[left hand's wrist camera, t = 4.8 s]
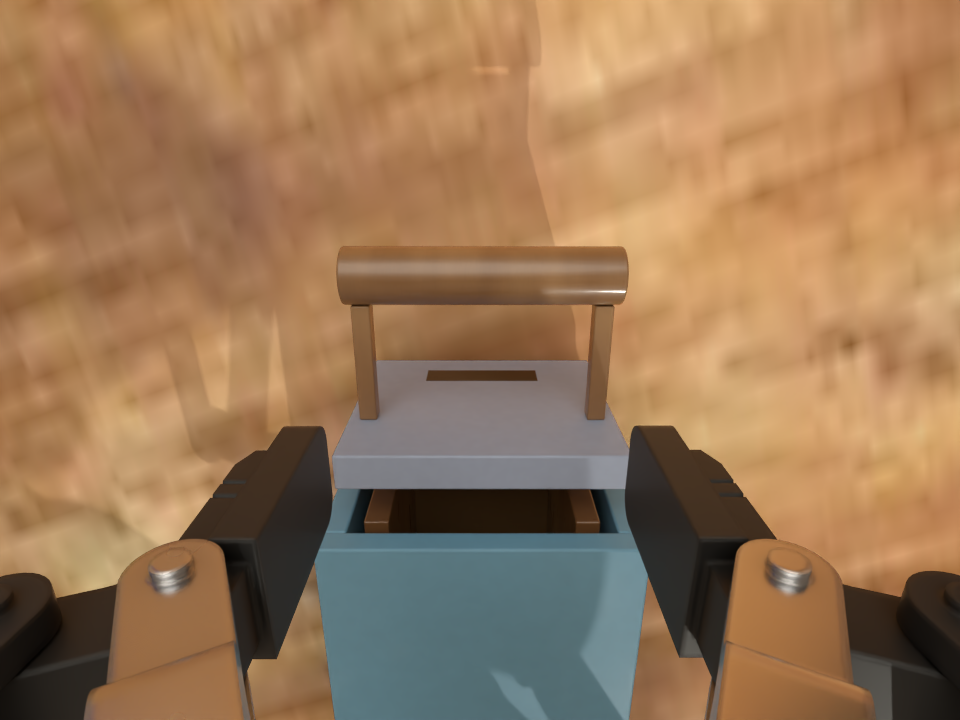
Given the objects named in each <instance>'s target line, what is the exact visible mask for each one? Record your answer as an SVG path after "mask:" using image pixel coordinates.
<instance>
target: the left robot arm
mask: <svg viewBox="0 0 960 720" xmlns="http://www.w3.org/2000/svg"><path fill="white" fill-rule="evenodd" d="M625 511H626V517H627V521H628V525H629V527H630V530H631V532H632V535H633V538H634V540H635V543H636V545H637V548H638V551H639V553H640V556H641V559H642V561H643V564H644V566H645V569H646V572H647V574H648V577H649V579H650V582H651V585H652V587H653V590H654V593H655V595H656V598H657V600H658V603H659V606H660V608H661V611H662V613H663V616H664V619H665V621H666V624H667V626H668V629H669V632H670V634H671V637H672V640H673V642H674V645H675V647H676V650H677V653H678V655H679V658H704V660H705V663H706V665H707V667H708V670H709V672H710V674H711V677H712V678H711V683H710V688H709V694H708V701H707V707H706V714H705V720H960V576H959V575H956V574H952V573H946V572H939V571H924V572H918V573H916V574H913V575H912V576H911V577H909V578H908V580H907V582H906V585H905V588H904V591H903V593H902V596H901V597H897V596H893V595H888V594H883V593H879V592H874V591H870V590H865V589H860V588H856V587H851V586H847V585H844V584H842V580H841V578H840V576H839V574H838V573H837V572H836V570H835V569H834V568H833V567H832V566H831V565H830V564H829V563H828V562H827V561H825V560H824V559H823V558H822V557H820V556H819V555H817V554H815V553H814V552H812V551H810V550H808V549H806V548H804V547H801V546H799V545H796V544H793V543H790V542H786V541H781V540H777V539H776V537H775V536H774V535H773V533H772V532H771V531H770V529H769V528H768V526H767V525H766V524H765V522H764V521H763V520H762V518H761V517H760V516H759V514H758V513H757V512H756V510H755V509H754V507H753V506H752V505H751V503H750V502H749V501H748V499H747V498H746V497H743V493H742V491H741V490H740V488H739V487H738V486H737V484H736V483H733V479H732V478H731V476H730V475H729V474H728V472H727V471H726V470H725V468H724V467H723V465H722V464H721V463H719V462H718V461H716V460H715V459H713V458H712V457H710V456H709V455H707V454H706V453H704V452H703V451H701V450H689V449H688V447H687V446H686V444H685V443H684V441H683V440H682V438H681V437H680V435H679V434H678V432H677V431H676V429H675V428H674V427H673V426H634V428H633V430H632V433H631V439H630V449H629V458H628V467H627V477H626V486H625ZM331 513H332V486H331V477H330V467H329V458H328V449H327V440H326V434H325V431H324V428H323V427H321V426H286V427H283V428H282V429H281V431H280V432H279V434H278V435H277V437H276V438H275V440H274V441H273V443H272V444H271V446H270V447H269V449H268V450H267V451H255V452H253V453H252V454H250V455H249V456H247V457H246V458H244V459H243V460H241V461H240V462H238V463H237V464H235V465H234V467H233V468H232V470H231V471H230V472H229V474H228V475H227V476H226V478H225V479H224V480H223V484H220V486H219V487H218V488H217V490H216V491H215V492H214V494H213V498H210V499H209V500H208V502H207V503H206V504H205V506H204V507H203V508H202V510H201V511H200V512H199V514H198V515H197V516H196V518H195V519H194V520H193V522H192V523H191V524H190V526H189V527H188V528H187V530H186V531H185V532H184V534H183V535H182V537H181V538H180V539H179V541H174V542H170V543H167V544H164V545H161V546H159V547H156V548H154V549H152V550H150V551H148V552H146V553H145V554H143V555H141V556H140V557H138V558H137V559H136V560H135V561H133V562H132V563H131V564H130V565H129V566H128V567H127V568H126V569H125V570H124V572H123V573H122V574H121V576H120V578H119V580H118V584H116V585H113V586H109V587H105V588H101V589H97V590H92V591H87V592H83V593H78V594H74V595H69V596H64V597H60V598H56V596H55V593H54V590H53V587H52V584H51V582H50V581H49V579H47V578H46V577H45V576H42V575H40V574H35V573H17V574H11V575H5V576H2V577H0V720H255V714H254V707H253V701H252V694H251V688H250V683H249V678H248V673H247V670H248V668H249V665H250V663H251V661H252V659H277V656H278V654H279V651H280V649H281V646H282V644H283V641H284V639H285V636H286V633H287V631H288V628H289V626H290V623H291V621H292V618H293V615H294V613H295V610H296V608H297V605H298V603H299V600H300V597H301V595H302V592H303V590H304V587H305V585H306V582H307V579H308V577H309V574H310V572H311V569H312V567H313V564H314V561H315V559H316V556H317V554H318V551H319V549H320V546H321V544H322V541H323V538H324V536H325V533H326V531H327V528H328V526H329V522H330V518H331Z"/></svg>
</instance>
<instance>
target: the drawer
mask: <svg viewBox="0 0 960 720" xmlns="http://www.w3.org/2000/svg"><path fill="white" fill-rule="evenodd" d="M628 276H629V268H628V258H627V254H626V251H625V249H624V248H623V247H415V246H343V247H341V248H340V250H339V254H338V258H337V286H338V292H339V296H340V299H341V301H342V303H343V304H345V305H352V306H351V319H352V331H353V343H354V355H355V367H356V379H357V391H358V402H357V404H356V406H355V408H354V410H353V413H352V415H351V417H350V419H349V421H348V423H347V425H346V428H345V430H344V432H343V434H342V436H341V438H340V441H339V443H338V445H337V447H336V449H335V451H334V454H333V456H332V463H333V472H334V481H335V488H336V489H374V491H373V494H372V497H371V501H370V504H369V507H368V511H367V514H366V517H365V521H364V528H365V533H599V532H600V520H599V517H598V514H597V510H596V507H595V504H594V501H593V498H592V494H591V491H590V489H625V486H626V477H627V467H628V458H629V448H628V446H627V444H626V441H625V439H624V437H623V435H622V433H621V431H620V429H619V427H618V425H617V423H616V421H615V418H614V416H613V414H612V412H611V410H610V408H609V406H608V404H607V402H606V397H607V385H608V374H609V363H610V351H611V340H612V328H613V317H614V306H613V305H620V304H622V303H623V301H624V299H625V296H626V293H627V287H628ZM372 305H592V316H591V330H590V344H589V357H588V362H587V361H586V360H377V361H376V351H375V337H374V322H373V308H372Z"/></svg>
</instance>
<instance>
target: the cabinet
mask: <svg viewBox="0 0 960 720" xmlns="http://www.w3.org/2000/svg"><path fill="white" fill-rule="evenodd" d="M373 491H374V489H338V490H337V493H336V495H335V497H334V500H333V502H332V513H331V518H330V522H329V526H328V528H327V531H326V533H325V536H324V538H323V541H322V544H321V546H320V549H319V551H318V554H317V556H316V559H315V568H316V576H317V584H318V592H319V599H320V607H321V615H322V623H323V631H324V638H325V646H326V654H327V662H328V670H329V678H330V685H331V693H332V701H333V709H334V717H335V720H629V716H630V708H631V701H632V693H633V686H634V678H635V671H636V663H637V656H638V648H639V641H640V633H641V626H642V618H643V611H644V603H645V596H646V588H647V581H648V574H647V572H646V569H645V566H644V564H643V561H642V559H641V556H640V553H639V551H638V548H637V545H636V543H635V540H634V538H633V535H632V532H631V530H630V527H629V525H628V521H627V517H626V511H625V489H590V491H591V494H592V498H593V501H594V504H595V507H596V510H597V514H598V517H599V520H600V532H599V533H365V528H364V521H365V517H366V514H367V511H368V507H369V504H370V501H371V497H372V494H373Z"/></svg>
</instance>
